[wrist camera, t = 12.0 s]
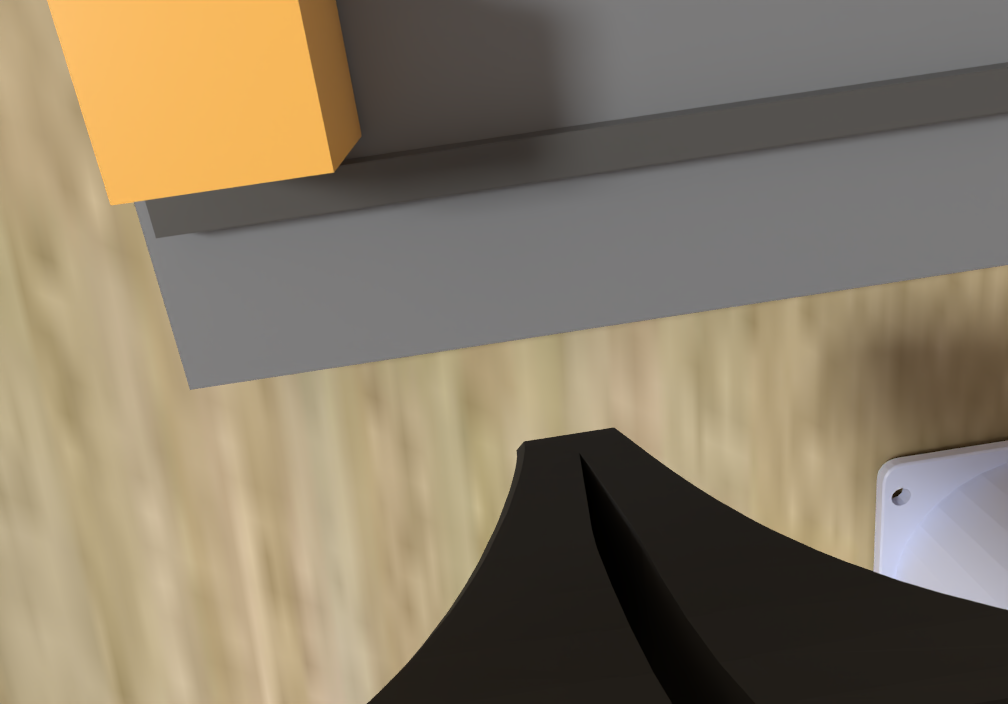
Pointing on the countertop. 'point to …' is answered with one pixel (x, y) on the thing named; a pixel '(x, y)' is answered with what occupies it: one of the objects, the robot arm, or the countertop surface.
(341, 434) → the countertop surface
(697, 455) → the countertop surface
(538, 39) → the switch panel
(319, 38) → the knob
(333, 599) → the countertop surface
